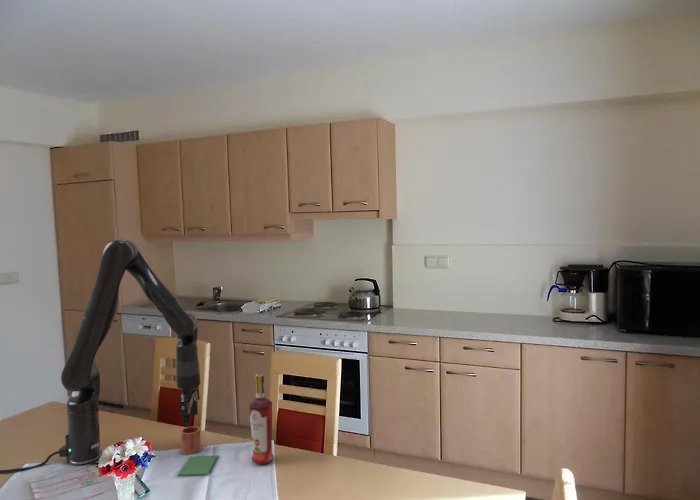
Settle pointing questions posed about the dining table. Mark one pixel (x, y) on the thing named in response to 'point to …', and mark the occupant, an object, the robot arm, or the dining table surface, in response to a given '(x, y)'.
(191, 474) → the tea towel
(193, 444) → the flower pot
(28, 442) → the dining table surface
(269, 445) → the liquor
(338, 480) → the dining table surface
